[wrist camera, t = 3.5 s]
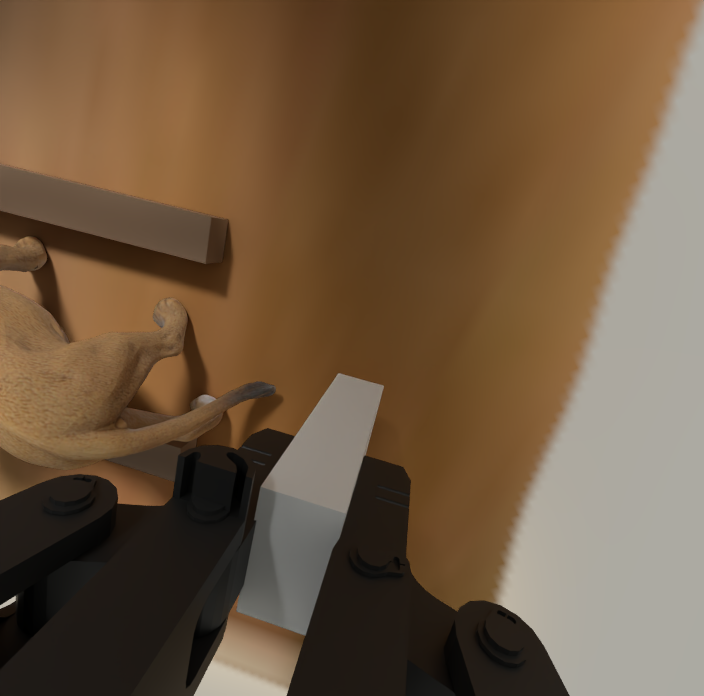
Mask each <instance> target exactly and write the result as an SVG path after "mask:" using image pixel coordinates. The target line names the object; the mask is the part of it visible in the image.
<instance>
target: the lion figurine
mask: <svg viewBox="0 0 704 696" xmlns="http://www.w3.org/2000/svg"><path fill="white" fill-rule="evenodd" d="M46 260H47V254H46V251H45V248H44V246H43V244H42V242H41V241H40V240H39V239H37V238H36V237H33V236H27V237H25V238H22V239H20V240H19V241H18V242H17V244H15V245H14V247H11V246H7V245H2V244H0V271H2V270H12V271H22V272H27V271H34V270H37V269H40V268H41V267H42V266H43V265H44V264H45V262H46ZM153 320H154V321H155V322H156V323H157V324H158V325H159V326H160V327H161V329H160V330H158V331H155V332H109V333H105V334H101V335H99V336H97V337H94V338H90V339H87V340H83V341H77V342H72V343H70V342H69V339H68V337H67V335H66V333H65V332H64V331H63V330H62V329H61V327H60V326H59V324H58V323H57V322H56V320H55V319H54V317H53V316H52V315H51V314H50V313H49V312H48V311H47V310H46V309H44V308H43V307H42V306H40V305H39V304H37V303H36V302H35V301H33V300H32V299H30V298H28V297H26V296H24V295H23V294H21V293H18V292H16V291H14V290H12V289H9V288H7V287H4V286H1V285H0V447H1V448H2V449H4V450H5V451H7V452H8V453H10V454H11V455H13V456H14V457H16V458H19V459H21V460H23V461H25V462H28V463H31V464H35V465H40V466H44V467H49V468H55V469H62V470H71V469H77V468H81V467H84V466H88V465H92V464H94V463H96V462H99V461H101V460H103V459H111V458H116V457H122V456H127V455H131V454H136V453H139V452H143V451H146V450H149V449H152V448H155V447H158V446H160V445H163V444H165V443H168V442H170V441H172V440H177V441H183V442H188V441H191V440H194V439H196V438H198V437H199V436H201V435H202V434H204V433H205V432H207V431H209V430H210V429H212V428H214V427H215V426H217V425H218V424H219V422H220V421H221V419H222V416H223V412H224V411H226V410H228V409H229V408H231V407H233V406H235V405H237V404H239V403H240V402H243V401H246V400H249V399H257V398H260V397H268V396H270V395H273V394H274V393H275V390H276V388H275V386H274V385H270V384H267V383H264V382H254V383H248V384H246V385H243V386H241V387H239V388H237V389H235V390H232V391H230V392H228V393H226V394H225V395H223V396H221V397H220V398H218V399H215V398H214V397H212V396H209V395H201V396H199V397H198V398H196V399H194V400H193V401H192V402H191V403H190V408H191V410H192V411H190V412H188V413H186V414H184V415H181V416H168V415H163V414H157V413H152V412H148V411H143V410H138V409H132V408H127V405H128V404H129V402H130V401H131V400H132V398H133V397H134V396H135V394H136V393H137V391H138V389H139V388H140V386H141V385H142V383H143V382H144V380H145V379H146V377H147V375H148V373H149V372H150V370H151V369H152V367H153V365H154V364H155V363H156V362H158V361H159V360H161V359H163V358H166V357H172V356H177V355H179V354H180V353H181V352H182V350H183V346H184V337H185V331H186V327H187V321H188V318H187V313H186V310H185V309H184V307H183V305H182V304H181V303H180V302H179V301H178V300H176V299H174V298H166V299H162V300H160V301H159V303H158V304H157V305H156V307H155V309H154V313H153Z"/></svg>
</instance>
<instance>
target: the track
mask: <svg viewBox="0 0 704 696" xmlns="http://www.w3.org/2000/svg"><path fill="white" fill-rule="evenodd" d="M0 211H4V212H8V213H11V214H15V215H19V216H23V217H27V218H31V219H35V220H38V221H42V222H46V223H50V224H54V225H58V226H62V227H65V228H69V229H73V230H77V231H81V232H85V233H89V234H92V235H96V236H100V237H104V238H108V239H112V240H116V241H119V242H123V243H127V244H131V245H135V246H139V247H143V248H146V249H150V250H154V251H158V252H162V253H166V254H170V255H173V256H177V257H181V258H185V259H189V260H193V261H197V262H200V263H204V264H209V263H220V262H222V260H223V253H224V246H225V239H226V232H227V225H228V219H224V218H220V217H216V216H212V215H208V214H204V213H200V212H195V211H191V210H187V209H183V208H179V207H175V206H171V205H167V204H163V203H159V202H155V201H151V200H147V199H143V198H139V197H134V196H130V195H126V194H122V193H118V192H114V191H110V190H106V189H102V188H98V187H94V186H90V185H86V184H82V183H77V182H73V181H69V180H65V179H61V178H57V177H53V176H49V175H45V174H41V173H37V172H33V171H29V170H25V169H21V168H16V167H12V166H8V165H4V164H0ZM196 443H197V438H196V439H194V440H191V441H188V442H183V441H177V440H172V441H170V442H168V443H165V444H163V445H160V446H158V447H155V448H152V449H149V450H146V451H143V452H139V453H136V454H131V455H127V456H122V457H116V458H111V459H105V460H108V461H111V462H114V463H117V464H120V465H123V466H126V467H130V468H133V469H136V470H139V471H142V472H145V473H148V474H151V475H155V476H158V477H161V478H164V479H167V480H170V481H173V482H175V475H176V468H177V460H178V455H179V454H181V453H183V452H185V451H186V450H188V449H191V448H195V447H196Z"/></svg>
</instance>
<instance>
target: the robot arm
mask: <svg viewBox="0 0 704 696" xmlns="http://www.w3.org/2000/svg"><path fill="white" fill-rule="evenodd" d="M383 388H384V386H383V385H380V384H376V383H372V382H369V381H365V380H362V379H358V378H354V377H351V376H347V375H344V374H340V373H338V375H337V376H336V378H335V379H334V380H333V382H332V383H331V385H330V386H329V388H328V389H327V391H326V392H325V394H324V395H323V396H322V398H321V399H320V401H319V402H318V404H317V405H316V407H315V408H314V410H313V411H312V413H311V414H310V415H309V417H308V418H307V420H306V421H305V423H304V424H303V426H302V427H301V429H300V430H299V431H298V433H297V434H296V436H292V435H289V434H286V433H282V432H279V431H276V430H272V429H269V428H267V429H264V430H262V431H259V432H257V433H255V434H252V435H251V436H250V437H249V438H248V439H247V440H246V441H245V443H244V444H243V445H242V447H240V448H239V449H238V450H236V449H234V448H230V447H225V446H219V445H207V446H199V447H195V448H191V449H188V450H186V451H185V452H183V453H181V454H179V455H178V460H177V468H176V475H175V483H174V491H173V497H172V498H171V499H170V500H169V501H168V502H167V503H166V504H165V505H164V506H142V505H129V504H117V502H118V495H117V488H116V487H115V486H114V485H113V484H112V483H111V482H110V481H109V480H106V479H103V478H101V477H98V476H93V475H82V474H78V475H69V476H61V477H58V478H54V479H51V480H48V481H45V482H42V483H40V484H37V485H35V486H33V487H30V488H28V489H26V490H24V491H21V492H19V493H17V494H14V495H12V496H10V497H7V498H5V499H3V500H0V605H1V604H3V603H4V602H6V601H8V600H9V599H11V598H12V597H14V596H16V601H15V602H13V603H12V604H10V605H8V606H6V607H4V608H1V609H0V696H194V694H195V692H196V690H197V688H198V686H199V684H200V682H201V680H202V678H203V676H204V674H205V672H206V670H207V668H208V666H209V664H210V662H211V661H212V659H213V657H214V655H215V653H216V651H217V649H218V647H219V645H220V643H221V641H222V639H223V636H224V632H225V629H226V625H227V620H228V614H229V612H230V610H231V608H232V606H233V604H234V602H235V601H236V599H237V597H238V595H239V593H240V595H239V600H238V605H237V610H236V611H237V612H239V613H242V614H245V615H248V616H251V617H254V618H257V619H259V620H262V621H265V622H268V623H271V624H274V625H277V626H279V627H282V628H285V629H288V630H291V631H294V632H296V633H299V634H302V635H305V639H304V642H303V645H302V648H301V651H300V655H299V658H298V661H297V664H296V667H295V671H294V674H293V677H292V680H291V683H290V687H289V690H288V693H287V696H569V694H568V692H567V690H566V688H565V686H564V684H563V682H562V680H561V678H560V676H559V675H558V672H557V671H556V669H555V667H554V665H553V663H552V661H551V659H550V657H549V655H548V653H547V651H546V649H545V647H544V645H543V644H542V643H541V641H540V640H539V638H538V637H537V635H536V634H535V632H534V631H533V630H532V629H531V628H530V627H529V626H528V625H527V624H526V623H525V622H524V621H523V620H522V619H521V618H520V617H518V616H517V615H516V614H514V613H512V612H511V611H509V610H507V609H506V608H504V607H502V606H501V605H498V604H494V603H491V602H487V601H469V602H468V603H466V604H465V605H463V606H461V607H460V608H459V610H458V612H457V611H456V610H454V609H452V608H451V607H449V606H448V605H446V604H444V603H443V602H441V601H440V600H438V599H436V598H435V597H434V596H432V595H431V594H430V593H428V592H427V591H426V590H425V589H424V588H423V587H422V586H421V585H420V584H419V583H418V582H417V581H416V579H415V578H414V576H413V575H412V573H411V569H410V564H409V561H408V560H407V558H406V545H407V530H408V515H409V509H408V508H409V500H410V497H409V496H410V485H411V480H410V479H409V477H408V475H407V473H406V471H405V469H404V468H403V467H401V466H398V465H395V464H391V463H388V462H385V461H381V460H378V459H375V458H371V457H368V456H365V455H366V452H367V448H368V444H369V441H370V437H371V433H372V429H373V426H374V422H375V418H376V414H377V411H378V407H379V403H380V400H381V396H382V392H383Z"/></svg>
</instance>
